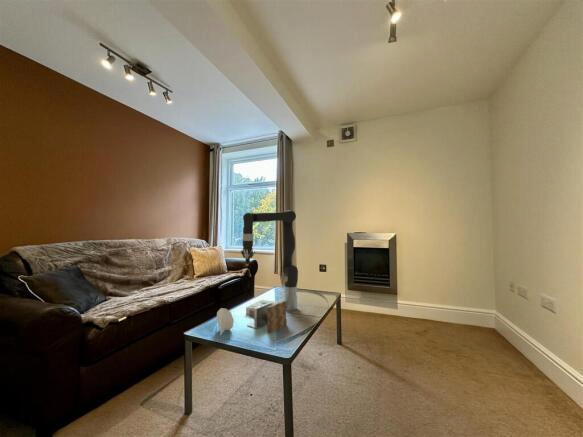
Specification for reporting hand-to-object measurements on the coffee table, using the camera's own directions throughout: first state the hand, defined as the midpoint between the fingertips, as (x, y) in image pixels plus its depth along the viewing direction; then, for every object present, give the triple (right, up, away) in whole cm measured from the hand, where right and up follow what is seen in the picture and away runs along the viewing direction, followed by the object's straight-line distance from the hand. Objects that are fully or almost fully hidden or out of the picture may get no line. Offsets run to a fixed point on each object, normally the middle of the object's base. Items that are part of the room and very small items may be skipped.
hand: (247, 263), depth 174 cm
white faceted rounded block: (-7, -33, -37) cm, 50 cm away
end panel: (+23, -34, -30) cm, 51 cm away
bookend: (+12, -34, -23) cm, 43 cm away
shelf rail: (+16, -34, -16) cm, 41 cm away
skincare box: (+19, -32, -2) cm, 37 cm away
